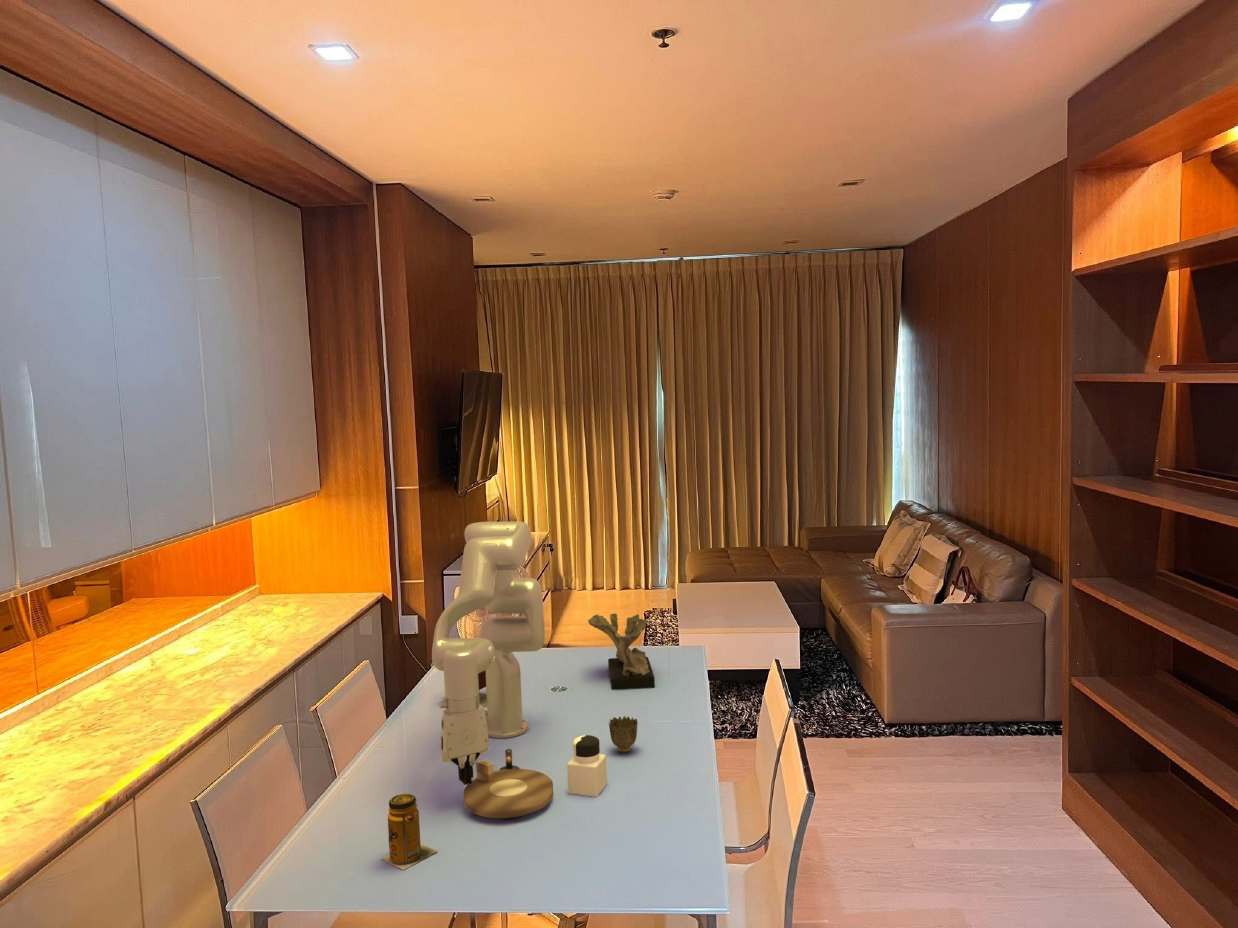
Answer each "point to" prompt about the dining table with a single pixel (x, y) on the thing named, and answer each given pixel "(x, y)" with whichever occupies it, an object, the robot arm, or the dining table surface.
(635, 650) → the coral
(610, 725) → the brown textured pot
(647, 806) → the dining table surface
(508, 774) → the disc
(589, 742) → the medicine bottle
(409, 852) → the condiment
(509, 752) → the joystick
